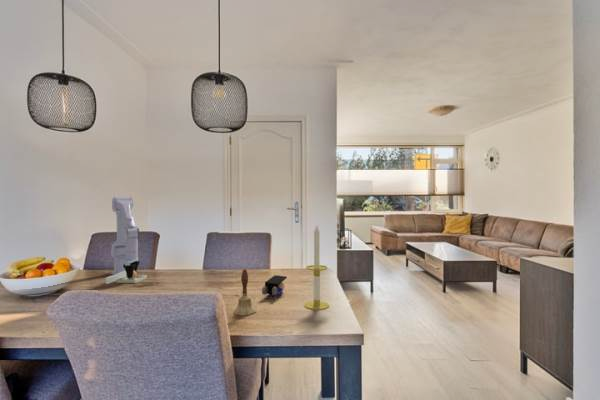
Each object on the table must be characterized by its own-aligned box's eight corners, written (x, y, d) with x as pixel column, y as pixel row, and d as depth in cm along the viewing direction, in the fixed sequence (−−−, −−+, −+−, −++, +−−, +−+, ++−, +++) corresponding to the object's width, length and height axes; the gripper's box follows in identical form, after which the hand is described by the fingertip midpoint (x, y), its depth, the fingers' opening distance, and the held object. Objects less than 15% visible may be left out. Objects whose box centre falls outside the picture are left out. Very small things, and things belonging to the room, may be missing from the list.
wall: (124, 276, 180) (124, 270, 180) (126, 276, 179) (126, 271, 179) (105, 283, 164) (105, 277, 164) (107, 283, 163) (107, 277, 163)
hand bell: (229, 311, 123) (229, 269, 123) (247, 306, 129) (247, 266, 129) (242, 317, 117) (241, 273, 117) (260, 311, 123) (260, 269, 123)
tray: (128, 277, 177) (128, 275, 177) (146, 278, 176) (146, 275, 176) (115, 282, 166) (115, 279, 166) (135, 283, 165) (135, 280, 165)
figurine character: (276, 304, 136) (287, 290, 151) (275, 286, 136) (287, 274, 150) (261, 302, 138) (274, 289, 153) (260, 285, 137) (273, 273, 152)
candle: (308, 311, 124) (308, 225, 124) (301, 303, 133) (301, 223, 133) (333, 308, 126) (333, 225, 126) (324, 300, 136) (324, 223, 136)
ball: (127, 278, 173) (127, 269, 173) (137, 278, 174) (138, 269, 174) (124, 280, 168) (124, 271, 168) (135, 280, 169) (135, 270, 169)
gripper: (128, 248, 177) (128, 273, 177) (118, 253, 163) (118, 280, 163) (141, 248, 179) (141, 273, 179) (133, 252, 164) (133, 279, 164)
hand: (131, 276), depth 171 cm, fingers closed on ball, 5 cm apart
